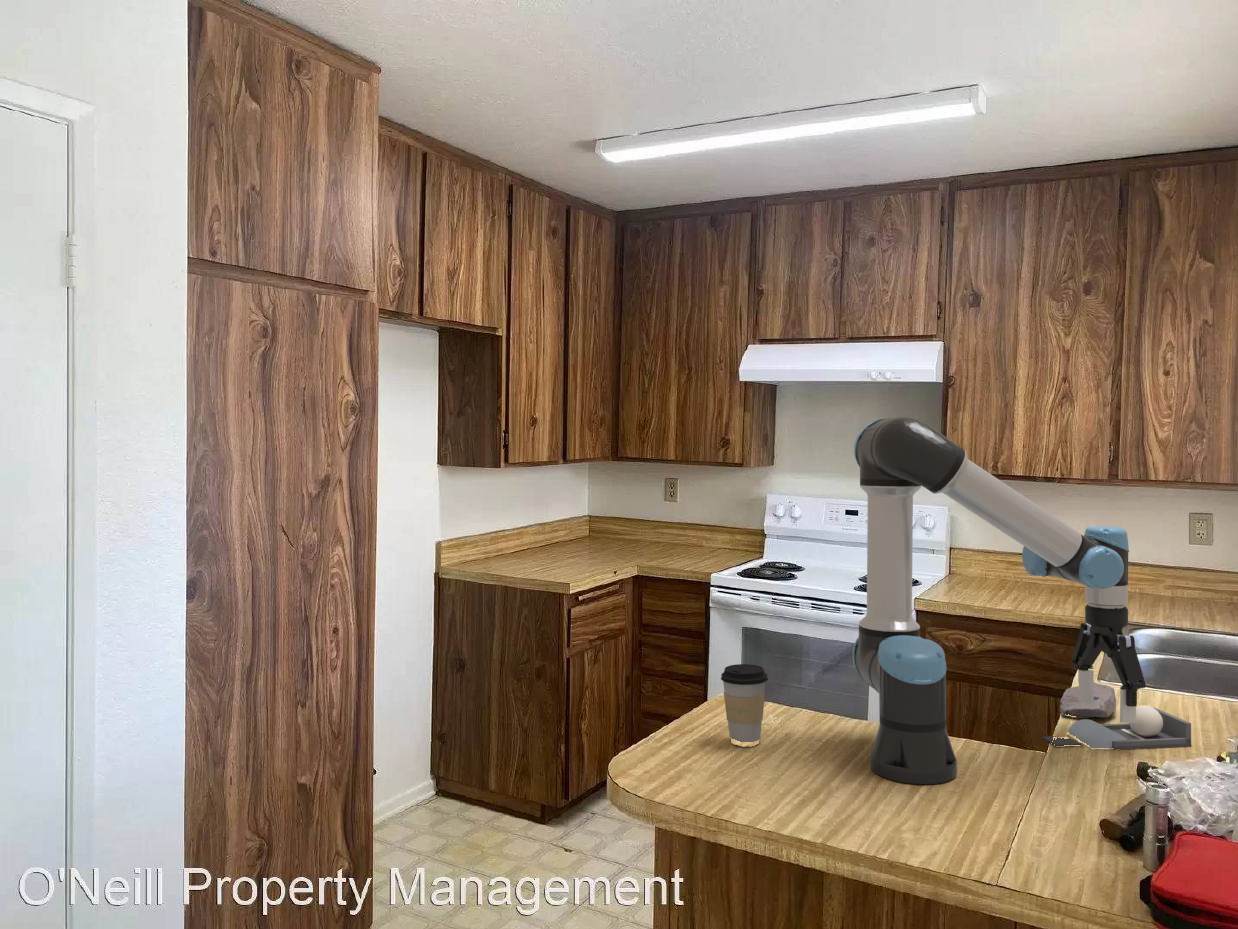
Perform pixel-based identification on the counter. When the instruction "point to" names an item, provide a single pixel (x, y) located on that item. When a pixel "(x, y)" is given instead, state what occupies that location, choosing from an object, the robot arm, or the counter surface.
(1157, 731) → the ball
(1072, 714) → the stone
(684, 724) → the counter surface
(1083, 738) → the grey wedge
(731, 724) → the coffee cup
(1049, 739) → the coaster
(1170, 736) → the tray
